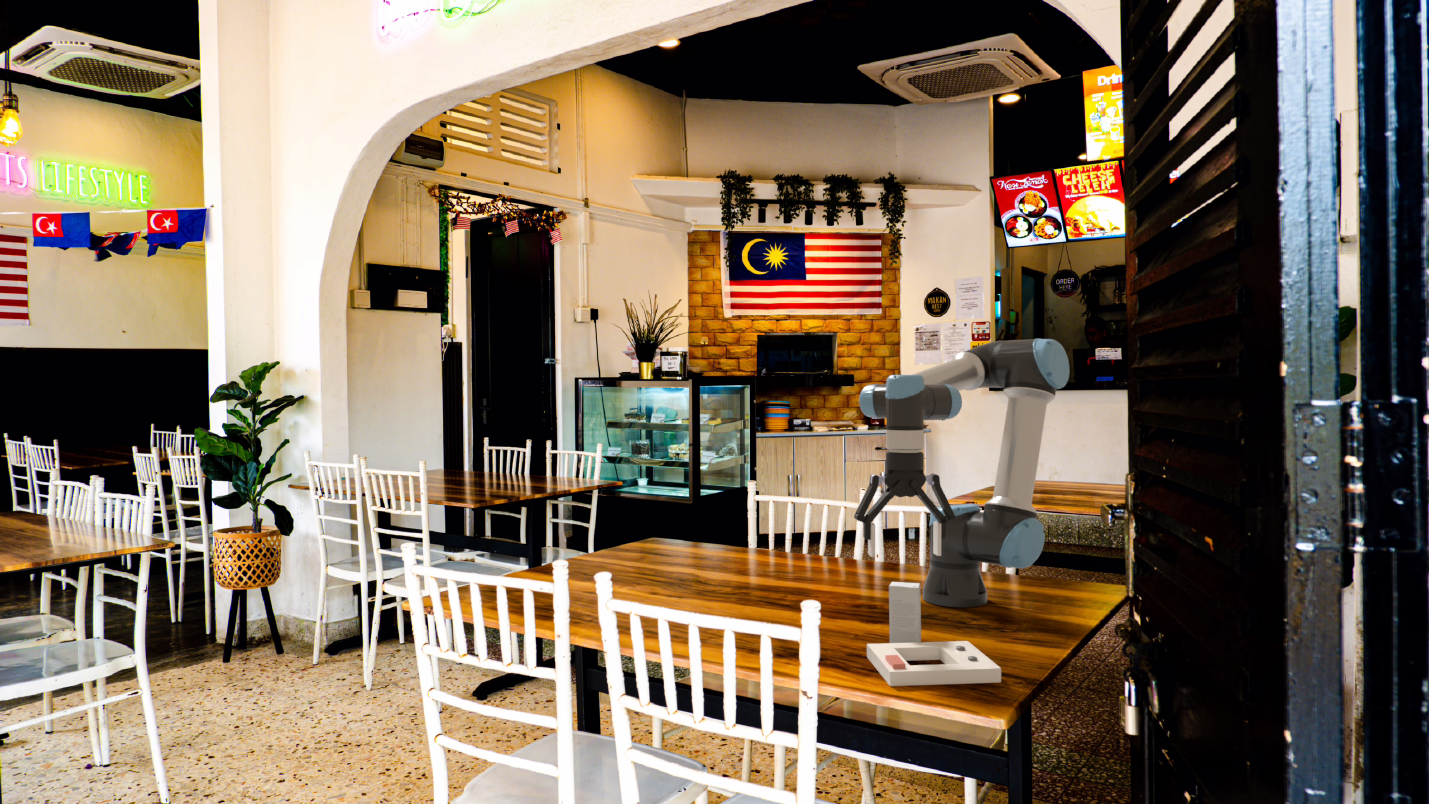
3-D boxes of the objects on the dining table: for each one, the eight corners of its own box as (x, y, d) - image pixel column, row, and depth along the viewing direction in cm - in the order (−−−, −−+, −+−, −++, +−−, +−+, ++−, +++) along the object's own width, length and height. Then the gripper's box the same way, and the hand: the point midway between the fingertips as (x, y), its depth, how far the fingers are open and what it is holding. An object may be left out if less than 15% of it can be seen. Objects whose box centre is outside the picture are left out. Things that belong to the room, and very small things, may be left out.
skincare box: (921, 641, 175) (921, 583, 174) (919, 647, 171) (919, 587, 170) (891, 638, 177) (891, 580, 176) (888, 644, 173) (888, 585, 172)
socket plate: (967, 653, 166) (967, 636, 166) (1001, 682, 151) (1001, 663, 150) (866, 656, 165) (866, 639, 165) (890, 686, 149) (889, 667, 149)
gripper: (958, 448, 177) (957, 550, 178) (839, 449, 176) (839, 552, 176) (971, 451, 170) (971, 557, 170) (848, 452, 168) (848, 559, 169)
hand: (904, 555), depth 173 cm, fingers open, 13 cm apart
